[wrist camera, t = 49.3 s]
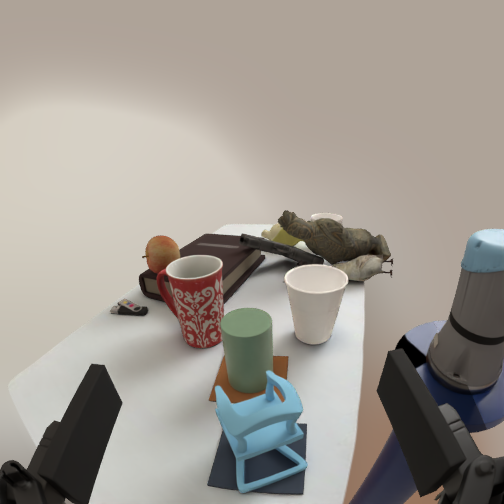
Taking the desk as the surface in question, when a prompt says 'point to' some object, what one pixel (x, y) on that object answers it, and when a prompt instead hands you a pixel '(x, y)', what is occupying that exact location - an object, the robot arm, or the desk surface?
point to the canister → (247, 348)
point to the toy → (280, 235)
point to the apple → (161, 253)
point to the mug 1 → (195, 297)
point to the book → (221, 246)
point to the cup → (315, 300)
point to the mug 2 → (327, 215)
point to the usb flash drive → (129, 308)
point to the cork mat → (236, 397)
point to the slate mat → (259, 468)
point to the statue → (334, 238)
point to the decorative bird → (363, 267)
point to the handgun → (280, 249)
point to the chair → (262, 428)
